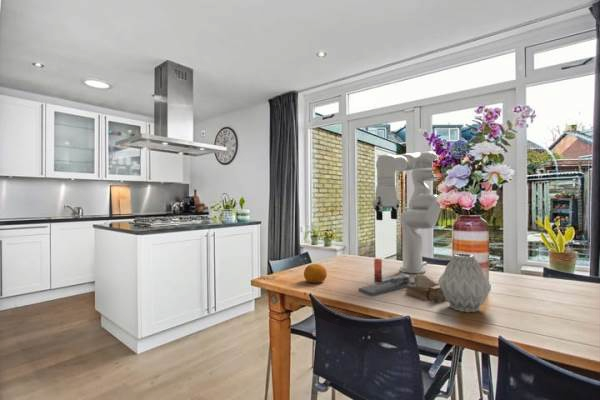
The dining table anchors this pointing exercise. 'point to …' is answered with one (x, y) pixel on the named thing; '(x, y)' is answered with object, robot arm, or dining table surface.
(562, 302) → the dining table surface
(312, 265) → the fruit
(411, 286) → the cradle
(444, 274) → the vase
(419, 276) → the stone
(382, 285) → the flat grey bar
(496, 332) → the dining table surface
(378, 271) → the lever
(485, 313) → the dining table surface
